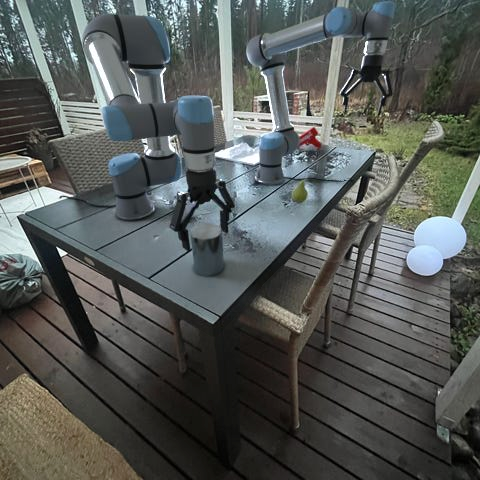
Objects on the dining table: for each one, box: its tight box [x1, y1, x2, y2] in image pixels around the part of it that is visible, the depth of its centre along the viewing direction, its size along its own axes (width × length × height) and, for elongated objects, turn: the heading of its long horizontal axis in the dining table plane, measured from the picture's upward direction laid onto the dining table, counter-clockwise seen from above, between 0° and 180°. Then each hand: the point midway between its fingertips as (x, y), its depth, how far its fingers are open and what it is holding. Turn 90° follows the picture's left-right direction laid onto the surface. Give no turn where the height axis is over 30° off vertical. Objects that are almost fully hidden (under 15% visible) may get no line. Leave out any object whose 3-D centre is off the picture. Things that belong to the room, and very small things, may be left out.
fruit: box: [291, 174, 311, 204], centre depth 118 cm, size 7×8×12 cm
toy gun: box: [298, 126, 323, 149], centre depth 197 cm, size 18×4×15 cm
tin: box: [189, 222, 225, 277], centre depth 79 cm, size 9×9×13 cm
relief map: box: [215, 141, 260, 166], centre depth 182 cm, size 27×35×5 cm
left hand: (206, 239), depth 78 cm, fingers open, 13 cm apart
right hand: (361, 114), depth 116 cm, fingers open, 13 cm apart
